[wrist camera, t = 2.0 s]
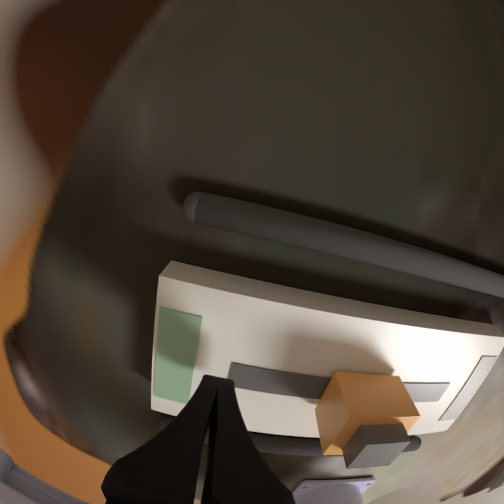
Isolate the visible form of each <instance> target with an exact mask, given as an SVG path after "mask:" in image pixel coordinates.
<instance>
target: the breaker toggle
mask: <svg viewBox="0 0 504 504" xmlns="http://www.w3.org/2000/svg"><path fill="white" fill-rule="evenodd" d="M315 415H316V420H317V425H318V431H319V436H320V442H321V447H322V453H323V455H343V456H344V460H345V464H346V469H349V468H365V467H377V466H387V465H390V464H391V463H392V462H393V461H394V460H395V459H396V457H397V456H398V455H399V454H400V453H401V452H402V451H403V450H404V449H405V448H406V447H407V445H408V444H409V443H410V442H411V440H410V438H409V436H408V434H407V432H408V431H409V430H410V429H411V428H412V426H413V425H414V424H415V422H416V421H417V420H418V419H419V417H420V414H419V412H418V410H417V408H416V406H415V404H414V402H413V401H412V399H411V397H410V395H409V393H408V391H407V389H406V388H405V386H404V384H403V382H402V380H401V379H400V377H399V376H390V375H375V374H362V373H351V372H341V371H335V372H334V374H333V376H332V378H331V380H330V382H329V384H328V386H327V388H326V390H325V392H324V393H323V395H322V397H321V399H320V401H319V403H318V405H317V406H316V408H315Z"/></svg>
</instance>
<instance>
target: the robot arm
mask: <svg viewBox="0 0 504 504" xmlns="http://www.w3.org/2000/svg"><path fill="white" fill-rule="evenodd" d="M208 426H209V435H208V452H207V466H206V473H205V480H204V486H203V492H202V498H201V504H363V500H362V495H361V494H362V493H363V492H364V491H365V490H366V489H368V488H369V487H370V486H371V485H372V484H373V483H374V482H375V481H376V479H375V478H374V477H371V478H360V479H345V480H306V481H303V482H301V483H300V484H299V486H298V487H297V488H296V489H295V490H294V491H293V493H292V492H291V491H290V490H289V489H288V488H287V487H286V486H285V485H284V484H283V483H282V482H281V481H280V480H279V479H278V478H277V476H276V475H275V474H274V473H273V472H272V470H271V469H270V468H269V466H268V465H267V463H266V462H265V461H264V459H263V458H262V456H261V455H260V453H259V451H258V450H257V448H256V446H255V444H254V442H253V441H252V439H251V437H250V434H249V432H248V430H247V428H246V425H245V423H244V420H243V417H242V414H241V411H240V408H239V405H238V401H237V397H236V392H235V385H234V381H233V380H231V379H226V378H221V377H216V376H212V375H207V374H205V375H203V377H202V380H201V382H200V384H199V386H198V388H197V389H196V391H195V393H194V394H193V396H192V397H191V398H190V400H189V401H188V403H187V404H186V405H185V406H184V408H183V409H182V410H181V411H180V412H179V414H178V415H177V416H176V417H175V418H174V419H173V420H172V421H171V422H170V423H169V424H168V425H167V426H166V427H165V428H164V429H163V430H162V431H160V432H159V433H158V434H157V435H156V436H155V437H153V438H152V439H151V440H149V441H148V442H146V443H145V444H144V445H142V446H141V447H139V448H138V449H136V450H134V451H133V452H131V453H129V454H127V455H126V456H124V457H122V458H120V459H118V460H117V461H116V462H115V463H114V464H113V465H112V467H111V468H110V469H109V471H108V472H107V474H106V476H105V478H104V480H103V483H102V485H101V490H102V492H103V494H104V496H105V498H106V500H107V501H106V503H105V504H193V503H194V498H195V491H196V484H197V477H198V471H199V464H200V458H201V452H202V447H203V443H204V440H205V436H206V433H207V430H208ZM0 504H89V503H86V502H84V501H81V500H80V499H77V498H75V497H73V496H71V495H69V494H67V493H65V492H63V491H61V490H59V489H57V488H55V487H53V486H51V485H50V484H48V483H46V482H44V481H42V480H41V479H39V478H37V477H35V476H34V475H32V474H30V473H29V472H27V471H26V470H24V469H22V468H21V467H19V466H18V465H16V464H15V463H14V461H13V460H12V458H11V457H10V456H9V455H8V454H7V453H6V452H4V451H3V450H2V449H0Z"/></svg>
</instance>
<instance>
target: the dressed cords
mask: <svg viewBox="0 0 504 504" xmlns="http://www.w3.org/2000/svg"><path fill="white" fill-rule="evenodd" d="M183 213H184V215H185V217H186V218H187V219H188V220H189V221H191V222H193V223H197V224H202V225H206V226H211V227H215V228H220V229H224V230H229V231H233V232H238V233H242V234H246V235H251V236H255V237H260V238H264V239H268V240H273V241H277V242H281V243H286V244H290V245H294V246H299V247H303V248H307V249H311V250H316V251H320V252H324V253H328V254H332V255H337V256H341V257H345V258H349V259H353V260H357V261H361V262H366V263H370V264H374V265H378V266H382V267H386V268H390V269H394V270H398V271H402V272H406V273H410V274H414V275H418V276H422V277H426V278H430V279H434V280H437V281H441V282H445V283H449V284H453V285H457V286H461V287H464V288H468V289H472V290H476V291H480V292H483V293H487V294H491V295H495V296H498V297H502V298H504V275H501V274H498V273H495V272H493V271H490V270H487V269H484V268H481V267H478V266H475V265H473V264H470V263H467V262H464V261H461V260H458V259H455V258H452V257H449V256H445V255H442V254H439V253H436V252H433V251H430V250H427V249H423V248H420V247H417V246H414V245H410V244H407V243H404V242H400V241H397V240H394V239H390V238H387V237H383V236H380V235H376V234H373V233H369V232H366V231H362V230H358V229H355V228H351V227H347V226H344V225H340V224H336V223H333V222H329V221H325V220H321V219H317V218H313V217H309V216H305V215H301V214H297V213H293V212H289V211H285V210H281V209H277V208H273V207H269V206H264V205H260V204H256V203H251V202H247V201H242V200H238V199H233V198H229V197H224V196H220V195H215V194H210V193H205V192H193V193H191V194H190V195H188V196H187V197H186V199H185V200H184V203H183ZM173 419H174V417H164V418H163V419H162V420H161V421H160V429H161V430H163V429H164V428H165V427H166V426H167V425H168V424H169V423H170V422H171V421H172V420H173ZM249 434H250V437H251V439H252V441H253V442H254V444H255V446H256V448H257V450H258V451H259V452H263V453H273V454H284V455H300V456H343V455H323V453H322V447H321V442H320V439H307V438H293V437H281V436H272V435H263V434H256V433H249ZM208 435H209V426H208V430H207V433H206V436H205V440H204V443H205V444H208ZM409 438H410V440H411V442H410V443H409V444H408V445H407V447H406V448H405V449H404V450H403V451H402V452H408V451H415V450H417V449H418V448H419V447H420V445H421V439H420V438H419V437H417V436H411V437H409Z"/></svg>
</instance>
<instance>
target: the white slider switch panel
mask: <svg viewBox="0 0 504 504" xmlns="http://www.w3.org/2000/svg"><path fill="white" fill-rule="evenodd" d="M503 347H504V333H503V332H502V331H500V330H499V329H498V328H497V327H496V326H495V325H494V324H488V323H482V322H475V321H469V320H463V319H457V318H451V317H445V316H439V315H433V314H427V313H422V312H416V311H410V310H405V309H399V308H394V307H388V306H383V305H378V304H372V303H367V302H362V301H357V300H352V299H347V298H341V297H336V296H331V295H326V294H321V293H317V292H312V291H307V290H302V289H297V288H292V287H288V286H283V285H278V284H273V283H269V282H264V281H260V280H255V279H250V278H246V277H241V276H237V275H232V274H228V273H224V272H219V271H215V270H210V269H206V268H202V267H197V266H193V265H189V264H185V263H180V262H176V261H172V260H171V262H170V263H169V264H168V265H167V266H166V268H165V269H164V270H163V271H162V273H161V274H160V275H159V281H158V290H157V301H156V312H155V324H154V339H153V357H152V383H151V409H152V410H155V411H159V412H162V413H166V414H169V415H173V416H177V415H178V414H179V412H180V411H181V410H182V409H183V408H184V406H185V405H186V404H187V403H188V401H189V400H190V398H191V397H192V396H193V394H194V393H195V391H196V389H197V388H198V386H199V384H200V382H201V380H202V377H203V375H205V374H207V375H212V376H216V377H221V378H226V379H231V380H233V381H234V385H235V392H236V397H237V401H238V405H239V408H240V411H241V414H242V417H243V420H244V423H245V425H246V428H247V430H248V431H253V432H261V433H269V434H278V435H288V436H300V437H317V438H320V436H319V431H318V425H317V420H316V415H315V408H316V406H317V405H318V403H319V401H320V399H321V397H322V395H323V393H324V392H325V390H326V388H327V386H328V384H329V382H330V380H331V378H332V376H333V374H334V372H335V371H341V372H351V373H362V374H375V375H390V376H399V377H400V379H401V380H402V382H403V384H404V386H405V388H406V389H407V391H408V393H409V395H410V397H411V399H412V401H413V402H414V404H415V406H416V408H417V410H418V412H419V414H420V417H419V419H418V420H417V421H416V422H415V424H414V425H413V426H412V428H411V429H410V430H409V431H408V432H407V434H408V435H418V434H426V433H434V432H441V431H446V430H447V429H448V428H449V427H450V425H451V424H452V423H453V422H454V421H455V419H456V418H457V417H458V415H459V414H460V413H461V412H462V410H463V409H464V408H465V406H466V405H467V404H468V402H469V401H470V399H471V398H472V397H473V395H474V394H475V392H476V391H477V389H478V388H479V386H480V385H481V384H482V382H483V380H484V379H485V377H486V376H487V374H488V373H489V371H490V369H491V368H492V366H493V365H494V363H495V361H496V359H497V358H498V356H499V354H500V353H501V351H502V349H503Z"/></svg>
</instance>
